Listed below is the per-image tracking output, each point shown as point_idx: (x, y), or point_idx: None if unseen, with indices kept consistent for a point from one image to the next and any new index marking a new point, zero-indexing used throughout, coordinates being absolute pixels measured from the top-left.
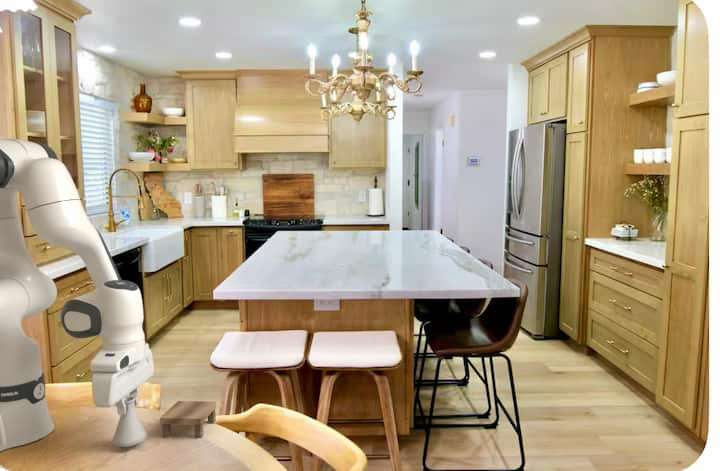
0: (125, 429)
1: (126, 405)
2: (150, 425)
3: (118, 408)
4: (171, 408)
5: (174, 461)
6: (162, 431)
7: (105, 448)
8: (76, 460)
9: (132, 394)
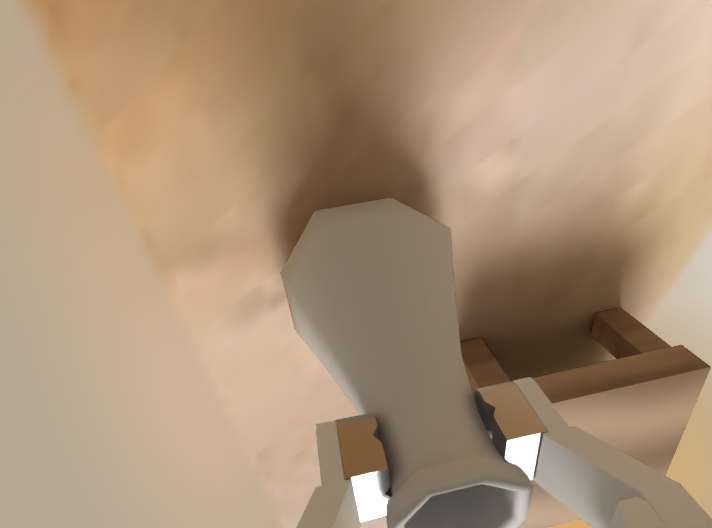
0: (326, 354)
1: (381, 511)
2: (584, 210)
3: (322, 482)
4: (611, 396)
5: (282, 480)
6: (465, 364)
7: (307, 150)
8: (117, 72)
9: (581, 482)
